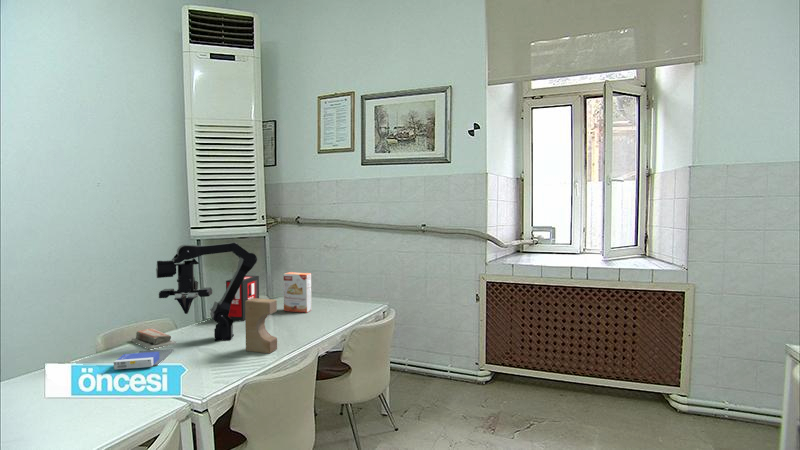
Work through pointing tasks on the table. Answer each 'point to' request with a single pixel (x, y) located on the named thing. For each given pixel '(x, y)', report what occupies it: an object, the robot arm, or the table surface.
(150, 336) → the packaged product
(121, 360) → the walkman
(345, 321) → the table surface
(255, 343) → the decorative block
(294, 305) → the cracker box
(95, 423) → the table surface
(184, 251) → the robot arm
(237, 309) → the cleaning product box
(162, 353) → the mat
